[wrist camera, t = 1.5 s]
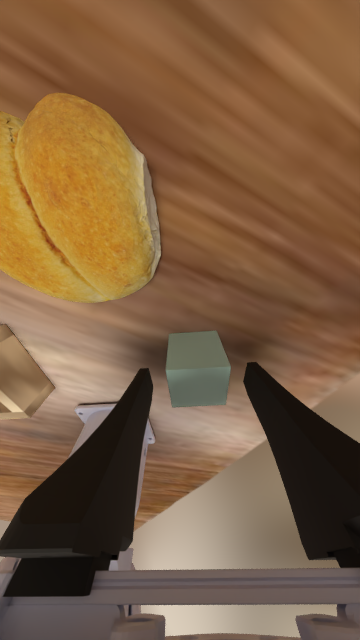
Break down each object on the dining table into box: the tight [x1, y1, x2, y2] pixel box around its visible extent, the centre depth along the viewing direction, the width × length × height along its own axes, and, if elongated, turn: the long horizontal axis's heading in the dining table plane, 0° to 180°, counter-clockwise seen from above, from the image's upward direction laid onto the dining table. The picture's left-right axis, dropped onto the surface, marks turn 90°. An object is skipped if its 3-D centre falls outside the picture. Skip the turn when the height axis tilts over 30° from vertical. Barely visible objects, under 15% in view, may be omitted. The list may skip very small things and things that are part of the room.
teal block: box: [166, 331, 231, 407], centre depth 12 cm, size 4×4×4 cm
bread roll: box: [0, 93, 161, 303], centre depth 7 cm, size 8×9×4 cm
